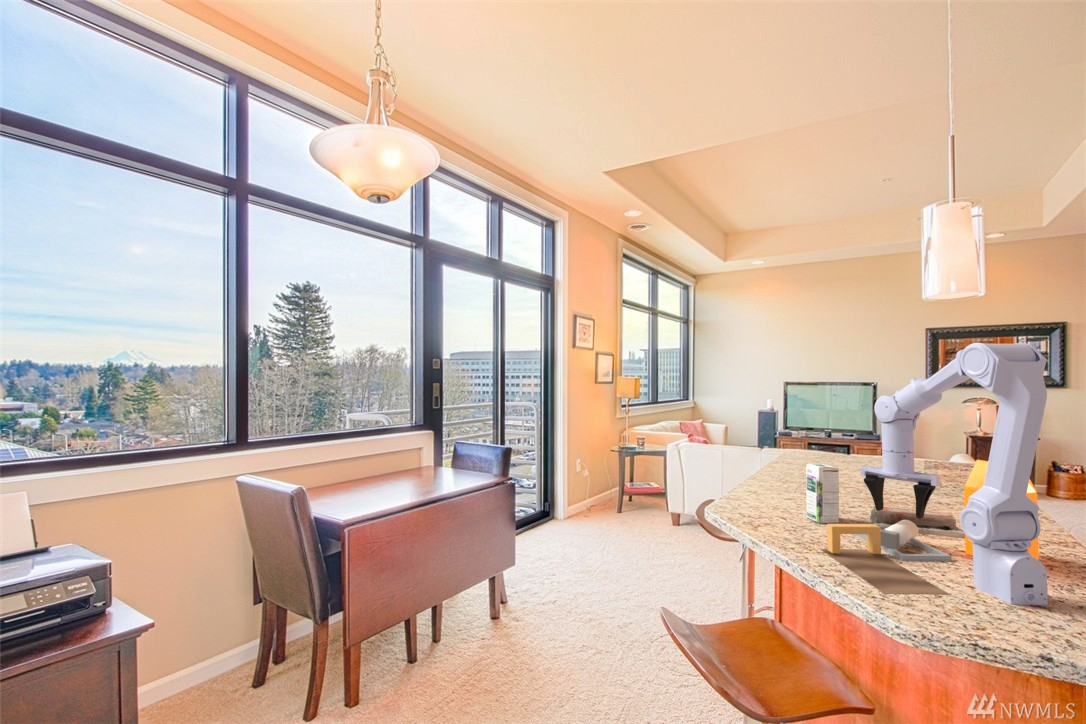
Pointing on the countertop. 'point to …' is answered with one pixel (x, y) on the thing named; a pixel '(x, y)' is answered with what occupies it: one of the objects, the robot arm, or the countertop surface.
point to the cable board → (883, 573)
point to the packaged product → (918, 521)
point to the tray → (935, 555)
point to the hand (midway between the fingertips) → (899, 513)
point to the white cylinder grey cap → (898, 534)
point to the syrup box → (822, 493)
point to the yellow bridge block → (869, 529)
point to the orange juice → (977, 482)
